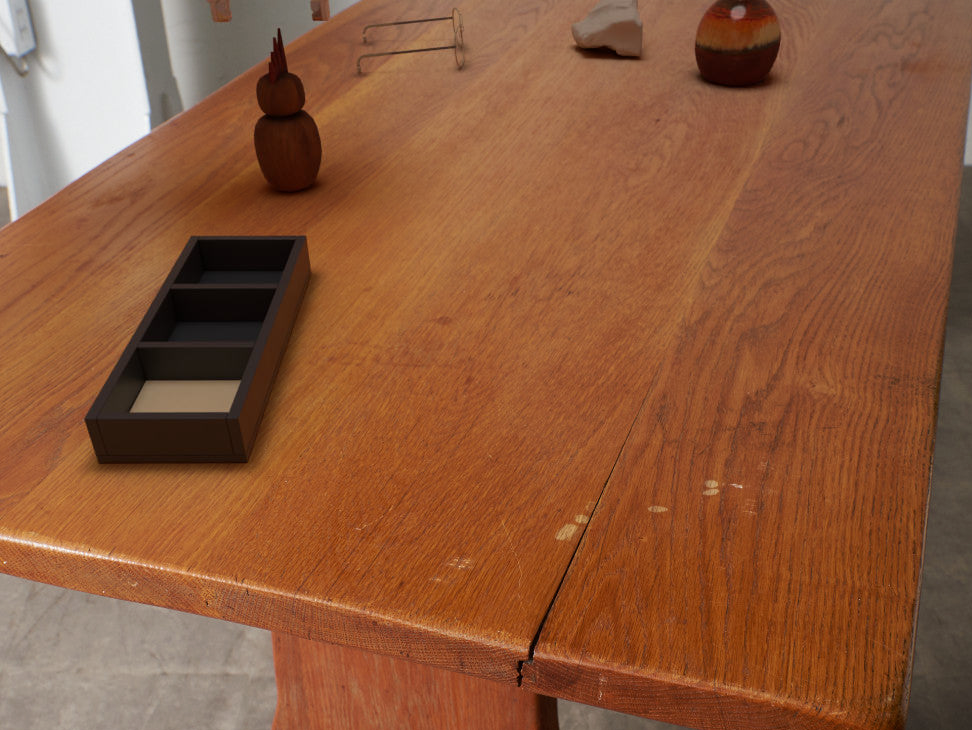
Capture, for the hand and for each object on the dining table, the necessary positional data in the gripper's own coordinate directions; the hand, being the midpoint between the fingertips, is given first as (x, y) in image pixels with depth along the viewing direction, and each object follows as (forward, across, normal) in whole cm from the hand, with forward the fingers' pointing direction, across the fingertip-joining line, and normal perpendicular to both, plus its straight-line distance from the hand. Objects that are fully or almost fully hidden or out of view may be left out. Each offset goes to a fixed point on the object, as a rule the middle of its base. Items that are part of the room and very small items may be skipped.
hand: (272, 20), depth 96 cm
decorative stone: (+17, +36, +51) cm, 65 cm away
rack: (+16, 0, -35) cm, 38 cm away
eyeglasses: (+16, +8, +49) cm, 52 cm away
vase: (+17, +52, +38) cm, 67 cm away
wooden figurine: (+16, 0, 0) cm, 16 cm away
